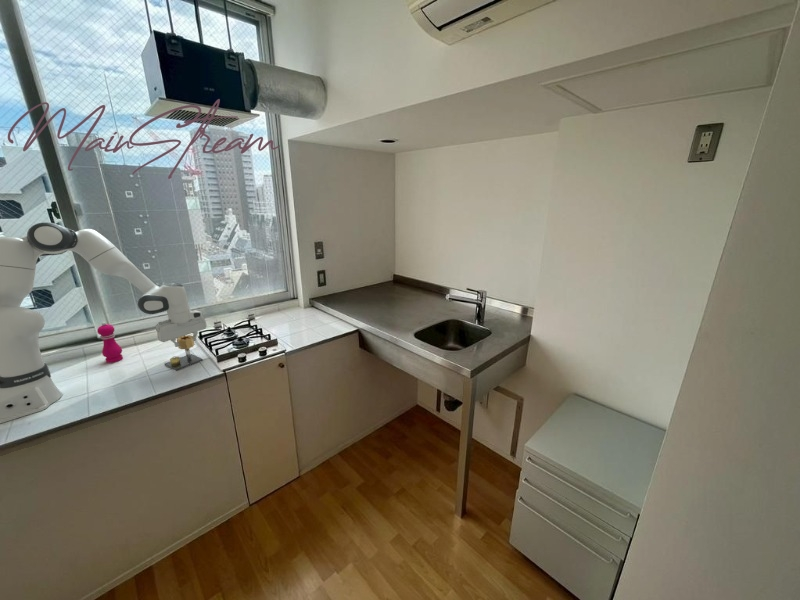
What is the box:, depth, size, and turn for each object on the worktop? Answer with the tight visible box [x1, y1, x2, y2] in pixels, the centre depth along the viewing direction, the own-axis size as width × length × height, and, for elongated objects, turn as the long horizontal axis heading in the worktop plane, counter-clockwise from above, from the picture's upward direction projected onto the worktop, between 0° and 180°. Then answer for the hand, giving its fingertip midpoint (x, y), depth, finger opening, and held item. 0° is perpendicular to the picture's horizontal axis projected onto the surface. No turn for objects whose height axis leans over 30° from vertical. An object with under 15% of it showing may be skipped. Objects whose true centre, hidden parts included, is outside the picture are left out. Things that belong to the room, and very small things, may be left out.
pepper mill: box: [97, 321, 124, 364], centre depth 152 cm, size 7×7×20 cm
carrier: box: [164, 348, 204, 372], centre depth 151 cm, size 12×11×6 cm
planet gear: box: [176, 334, 195, 350], centre depth 151 cm, size 6×6×4 cm
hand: (186, 343), depth 152 cm, fingers closed on planet gear, 6 cm apart
